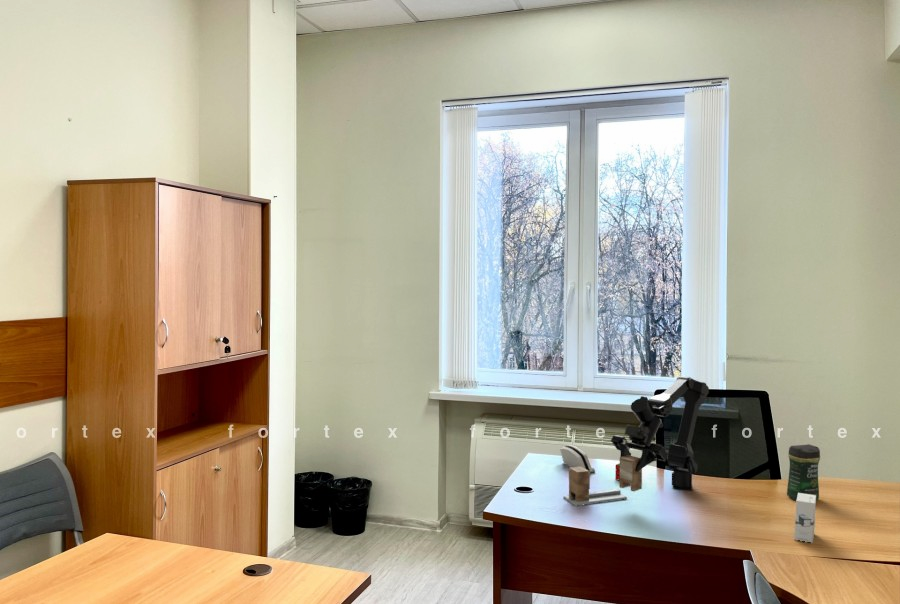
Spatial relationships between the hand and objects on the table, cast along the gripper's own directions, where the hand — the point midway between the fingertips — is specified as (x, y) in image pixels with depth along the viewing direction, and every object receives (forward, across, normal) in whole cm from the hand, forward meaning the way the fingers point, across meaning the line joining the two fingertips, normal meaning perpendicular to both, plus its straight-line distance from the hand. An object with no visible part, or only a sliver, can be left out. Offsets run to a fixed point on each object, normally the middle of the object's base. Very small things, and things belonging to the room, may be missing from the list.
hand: (628, 468), depth 209 cm
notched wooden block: (+4, 0, +6) cm, 7 cm away
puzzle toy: (-9, -18, +28) cm, 35 cm away
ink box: (-4, +47, +24) cm, 53 cm away
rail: (+9, -13, +10) cm, 19 cm away
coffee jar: (-29, +33, +49) cm, 66 cm away
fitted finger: (+14, -15, +5) cm, 21 cm away
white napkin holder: (-7, -40, +26) cm, 48 cm away
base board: (+9, -13, +10) cm, 19 cm away
